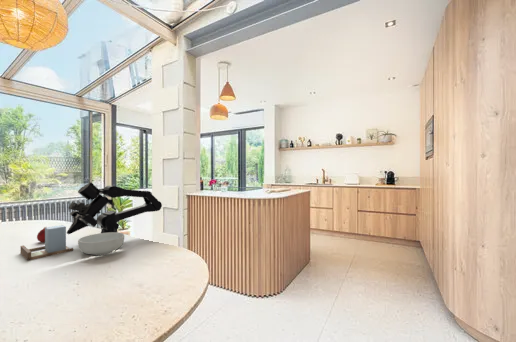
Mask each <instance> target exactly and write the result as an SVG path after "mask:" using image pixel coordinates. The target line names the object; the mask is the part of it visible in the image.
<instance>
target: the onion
mask: <svg viewBox="0 0 516 342" xmlns="http://www.w3.org/2000/svg"><path fill="white" fill-rule="evenodd" d="M45 227H46V226H44V227H43V229H41V230H40V231H39V232H38V233H37V235H36V239H37V241H38V242H40V243H45Z"/></svg>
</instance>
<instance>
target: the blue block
mask: <svg viewBox="0 0 516 342" xmlns="http://www.w3.org/2000/svg"><path fill="white" fill-rule="evenodd" d="M44 227H45V242H44V246H45V249H44V250H45V251H46V252H47V253H51V252H56V251H60V250H65V249H66V246H67V226H66V225H63V224H61V225H55V226H44Z"/></svg>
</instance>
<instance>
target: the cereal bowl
mask: <svg viewBox="0 0 516 342" xmlns="http://www.w3.org/2000/svg"><path fill="white" fill-rule="evenodd" d="M124 241H125V234H124V233H122V232H118V231H117V232H108V233H101V232H100V233H94V234H88V235H86V236H83V237H80V238H79V239H78V241H77V244H78V245H77V246H78V249H79V250H80V252H82V253H84V254H87V255H92V256H93V257H95V256H96V257H101V256H106V255H109V254H111V253H113V252H114V251H116V250H117V249H120V248H121V247H122V246H123V244H124Z"/></svg>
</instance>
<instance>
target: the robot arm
mask: <svg viewBox="0 0 516 342" xmlns="http://www.w3.org/2000/svg"><path fill="white" fill-rule="evenodd" d="M77 193H78V194H79V195H81V196H82V197H83V198H84V199H86V200H87V201H90V200H91V202H89V203H86V204H85V203H84V202H81V201H80V202H78V203H76V202H75V201H73V202H71V203H70V205H69V206H68V207H67V209H68V210H72V211H71V212H70V213H69V215H70V216H71V217H72V223H71V224H70V226H69V228H68V230H66V235H67V234H68V235H72V234H73V233H74V232H77V231H80V230H81V229H84V228H86V227H89V225H90V226H91V227H93V228H94V227H96V226H97V225H99V226H100V229H101V232H100V233H108V232H118V229H119V227H120V224H119V222H120V221H123V220H126V219H128V218H132V217H135V216H137V215H141V214H144V213H152V212H159V211H160V210H161V209H162V207H163V206H162V205H163V204H162V202H161V201H160V200H158V199H157V198H156V197H155V196H154V195H153V193H152V192H151V191H150V190H137V189H127V188H126V189H125V188H124V187H123V188H122V187H120V186H116V185H106V186H105V187H104V188H98V187H97V186H95V184H94V183H93V182H92V181H91V182H88V183H87V184H85V185H84V186H81V187H80V188H79V190H77ZM103 195H104V196H103ZM120 197H133V198H143V200H144V201H143V202H144V203H143V204H141V205H139V206H135V207H132V208H127V209H124V210H122V211H118V212H116V211H113V210H109V211H106V212H101V211H102V210H103V209H104V207H105V206H107V205H110V206H112V205H113V199H112V198H120ZM97 214H99V215H98V216H97V217H96V218H94V217H95V216H96V215H97ZM88 224H89V225H88Z"/></svg>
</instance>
